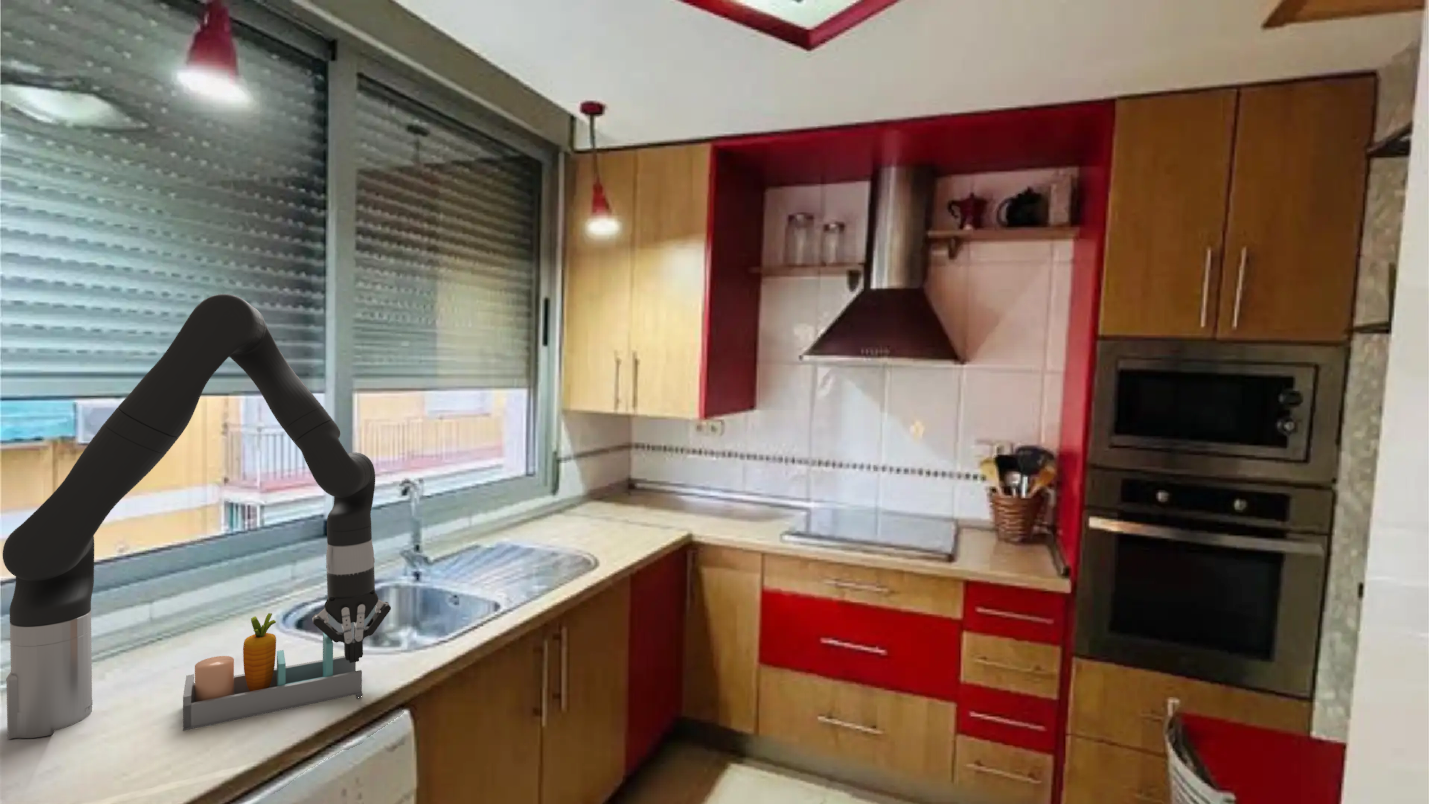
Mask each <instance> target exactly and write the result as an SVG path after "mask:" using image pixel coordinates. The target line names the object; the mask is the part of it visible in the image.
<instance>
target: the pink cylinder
mask: <svg viewBox="0 0 1429 804" xmlns="http://www.w3.org/2000/svg"><path fill="white" fill-rule="evenodd" d="M234 676H235V658H234V657H233V656H229V655H217V656H211V657H208V658H205V659H202V660H200V661H198V662H197V663H195V665H194V683H195V702H199V701H204V700H209V699H214V698H219V697H225V696H230V695H234Z"/></svg>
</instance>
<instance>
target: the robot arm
mask: <svg viewBox="0 0 1429 804" xmlns="http://www.w3.org/2000/svg"><path fill="white" fill-rule="evenodd" d="M228 358H230V359H231V360H232V361H234V363H235V364H236V365H238V367H240V368H241V369H242V371H244V372H245V373H246V375H248V377H249V378H250V379H251V380H252V382H253V383H254V384H255V386H256V387H257V389H258V391H259V393H260V394H261V395H262V398H264V401H265V402H266V403H265V404H266V405H267V406H268V408H269V410H270V411H271V413H272V415H273V416H274V418H275V420H276V421H277V422H278V424H279V425H280V426H281V428H282V429H283V430H284V432H286V433H285V434H287V435H288V437H289V438H290V439H291V440H292V442H293V443H294V444H295V445H296V447H297V448H298V449H299V450H300V452H301V453H302V456H303V458H304V461H305V463H306V465H307V467H308V469H309V471H310V474H311V475H312V477H313V479H314V480H315V482H316V484H318V486H319V487H320V489H321V490H323V492H325V493H327V494H328V495H329V496H331V497H333V499H334V500H333V506H332V509H331V510H330V511H329V513H328V514H327V517H326V535H327V536H326V541H327V542H326V544H327V546H326V553H325V554H326V555H325V558H326V559H325V560H326V563H325V564H326V565H325V566H326V589H327V590H326V591H327V593H326V594H327V597H326V601H325V602H324V608H323V609H322V610H321V611H319V612H318V613H316V614H313V615H312V618H311V619H312V623H313V625H314V626H315V627H317V628H318V630H320V631H321V632H322V634H323V633H325V634H326V635H327V636H328V637H329V638H330V639H332V641H333V643H343V648H344V653H343V654H344V655H343V656H345V658H346V660H349V662H350V663H353V662H356V663H357V662H360V659H361V658H363V656H364V643H363V642H364V639H365V638H367V637H371V636H373V635H374V633H375V632H376V630H377V629H378V628H379V626H380V625H381V624H382V622H383V621H384V620H385V618H386V617H387V615H388V614H389V612H390V611H391V609H392V608H391V607H392V606H391V605H390V604H389V602H388V601H382V600H381V599H379V596H378V594H377V593H376V581H375V577H376V576H375V562H376V559H375V551H374V545H373V537H372V534H373V533H372V518H371V515H372V514H371V513H372V512H371V511H372V508H373V502H374V496H375V495H374V494H375V490H376V489H375V488H376V471H375V466H374V464H373V462H372V460H371V459H370V458H369V457H368V456H367V455H366V454H363V453H362V452H347V450H346V449H345V447H344V446H343V445H342V442H341V441H340V436H341V431H340V428H339V426H338V425H337V424H336V422H335V421H334V420H333V418H332V417H331V416H330V415H329V413H328V411H326V409H325V408H324V406H323V405H322V404H321V403H320V402H319V400H318V399H317V398H316V396H315V395H314V394H313V393H312V391H311V390H310V389H309V388H308V387H307V386H306V385H305V383H304V382H303V381H302V380H301V379H300V377H299V376H298V374H297V373H296V372H295V371H294V370H293V368H292V367H291V366H290V364H289V362H288V361H287V359H286V358H285V356H284V354H283V353H282V352H281V350H280V348H279V347H278V344H277V343H276V340H275V339H274V337H273V335H272V333H271V331H270V329H269V328H268V325H267V324H266V321H265V318H264V316H263V314H262V313H261V312H260V311H259V310H258V309H257V308H256V307H254V305H252V304H251V303H249V302H248V301H246V300H244V299H243V298H242V297H240V296H238V295H234V294H230V293H220V294H219V293H218V294H214V295H211V296H209V297H207V298H205V299H203V300H202V301H201V302H199V304H197V305H196V306H195V307H194V309H193V310H192V311H191V313H190V315H189V316H188V317H187V319H186V321H185V322H184V324H183V325H182V327H181V329H180V330H179V331H178V333H177V335H176V336H175V338H174V340H173V341H172V342H171V344H170V345H169V346H168V348H167V349H166V351H165V352H164V354H163V355H162V356H161V358H160V359H159V360H158V361H157V362H156V363H155V364H154V366H152V367H151V369H150V370H149V371H148V372H147V373H146V374H145V375H144V376H143V377H142V379H141V380H140V381H139V382H138V383H137V384H136V386H135V387H134V388H133V389H132V391H130V393H129V394H128V395H127V396H126V397H125V398H124V399H123V400H122V402H121V403H120V404H119V405H118V406H117V407H116V409H115V410H113V412H112V413H111V415H110V416H109V417H108V418H107V419H106V421H105V422H104V423H103V424H102V426H100V428H99V430H98V431H97V432H96V433H95V434H94V436H93V437H92V438H91V441H90V442H89V443H88V444H87V446H86V447H85V448H84V450H83V451H82V453H81V454H80V456H79V457H78V459H77V460H76V462H74V465H73V466H72V468H71V470H70V471H69V473H68V474H67V475H66V477H65V478H64V479H63V481H62V483H60V484H59V486H58V487H57V488H56V490H55V491H54V492H53V493H52V494H51V495H50V496H49V497H48V498H47V499H46V500H45V501H44V502H42V504H41V505H40V506H39V507H38V508H37V509H36V510H35V511H34V512H33V513H32V514H31V515H30V516H29V517H28V518H26V520H25V521H23V522H22V523H21V524H20V525H19V526H18V527H16V528H15V529H14V530H13V531H12V532H11V533H10V534H9V535H8V536H7V539H6V540H5V542H4V544H3V548H2V560H3V561H2V562H3V565H4V566H5V569H6V570H8V572H9V573H10V574H11V575H13V576H14V577H15V586H14V590H13V591H14V592H13V596H12V599H11V603H10V606H9V641H10V642H9V643H10V645H9V646H10V648H9V649H10V653H9V654H10V672H9V674H8V675H7V677H6V678H5V679H6V717H7V718H6V724H7V725H6V726H7V727H6V734H7V735H6V736H7V739H8V740H10V739H11V740H12V739H17V738H21V739H22V738H23V739H33V738H41V737H47V736H51V735H54V733H55V731H58V730H61V729H64V728H67V727H70V726H73V725H75V724H77V723H80V722H82V721H83V720H85V719H86V718H88V717H89V716H91V713H92V712H93V666H92V662H93V661H92V660H93V659H92V658H93V657H92V654H93V653H92V597H93V591H94V584H95V534H96V533H97V531H98V530H99V529H100V527H101V525H102V524H103V522H104V521H105V519H106V518H107V517H108V515H109V514H110V513H111V511H112V510H113V509H114V508H115V506H116V505H117V504H118V503H120V501H121V500H122V499H123V498H124V497H125V496H126V495H127V494H128V493H129V492H130V491H131V490H133V489H134V488H135V487H136V486H137V485H138V484H139V483H140V482H141V481H142V480H143V479H144V478H145V477H146V476H147V475H149V473H150V472H151V471H152V470H153V469H154V468H155V466H157V464H158V463H159V462H160V461H161V460H162V459H163V458H164V457H165V455H166V454H167V453H168V452H169V450H171V448H172V447H173V446H174V444H175V443H176V442H177V441H178V439H179V438H180V437H181V436H182V434H183V433H184V431H185V429H186V428H187V427H188V425H189V423H190V421H191V420H192V418H193V415H194V413H195V410H196V408H197V407H198V403H199V400H200V398H201V396H202V393H203V391H204V389H205V387H206V385H207V384H208V382H209V381H210V379H211V378H212V376H213V375H214V374H215V373H216V371H217V370H218V369H219V368H220V367H221V366H222V365H223V364H224V363H225V361H227V359H228ZM373 610H374V611H375V612H374V614H373V615H372V617H371V618H370V620H368V622H367V623H366V625H365V620H366V619H367V618H368V617H369V616H370V614H371V613H372V611H373ZM328 615H330V617H332V619H334V620H335V621H336V622H337V624H340V625H341V630H342V632H341V631H339V630H337V629H336V628H335V627H334V626H333V625H331V624H330V623H329V621H330V619H329V616H328ZM352 624H353V631H352Z"/></svg>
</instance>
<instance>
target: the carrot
mask: <svg viewBox="0 0 1429 804" xmlns="http://www.w3.org/2000/svg"><path fill="white" fill-rule="evenodd" d="M272 616H273V613H272V612H269V613H267V614H266V617H265V619H264V623H263V624H261V623H260V621H259V620H258V617H257V616H252V618H250V621H251V622H250V623H251V626H252V629H253V632H254V634H252V635H249V636H247V637H246V638H245V639H244V640H243V648H242V653H243V654H242V655H243V656H242V658H243V660H242V661H243V662H242V663H243V674H245V678H246V682H247V686H248V689H249V691H256V690H261V689H266V688H269V686H270V684H271V680H272V676H273V672H274V668H276V667H275V665H276V656H277V635H276V634H274V633H269V632H268V630H269V629H270V627H271V626H273V625H274V624H276V622H277V621H276V620H275V619H272ZM271 619H272V620H271Z"/></svg>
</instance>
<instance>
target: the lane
mask: <svg viewBox="0 0 1429 804" xmlns="http://www.w3.org/2000/svg"><path fill="white" fill-rule="evenodd" d="M356 663H357V662H353V663H350V662H349V660H346V658H345V655H342V656H336V657H333V676H328V677H323V659H319V660H314V661H313V660H312V661H309V662H303V663H302V662H301V663H298V664H292V665H287V666H286V682H285V684H287V685H281V686H277V667H274V672H273V676H272V680H271V684H270V686H269V688H266V689H261V690H256V691H249V689H248V686H247V682H246V678H245V673H243V674H236V675H234V695H230V696H225V697H219V698H214V699H209V700H204V701H199V702H195V673H193V674H188V675H186V676H185V682H184V683H185V684H184V687H183V688H184V690H183V695H182V731H183V732H185V731H189V730H194V729H199V728H204V727H208V726H214V725H218V724H222V723H227V722H232V721H237V720H242V719H247V718H251V717H256V716H260V715H265V714H270V713H274V712H275V713H276V712H279V711H280V712H281V711H283V710H284V711H285V710H289V709H293V708H299V707H303V706H307V705H312V704H317V703H323V702H326V701H331V700H332V701H333V700H336V699H341V698H346V697H351V696H354V695H355V698H356V699H359V698H358V697H361V696H362V697H363V671H362V670H361V669H360V670H356V668H357V665H356ZM319 677H323V678H319ZM314 678H318V679H314ZM309 679H312V680H309ZM304 680H307V681H304ZM299 681H302V682H299ZM293 682H297V683H293ZM288 683H292V684H288Z"/></svg>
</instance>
